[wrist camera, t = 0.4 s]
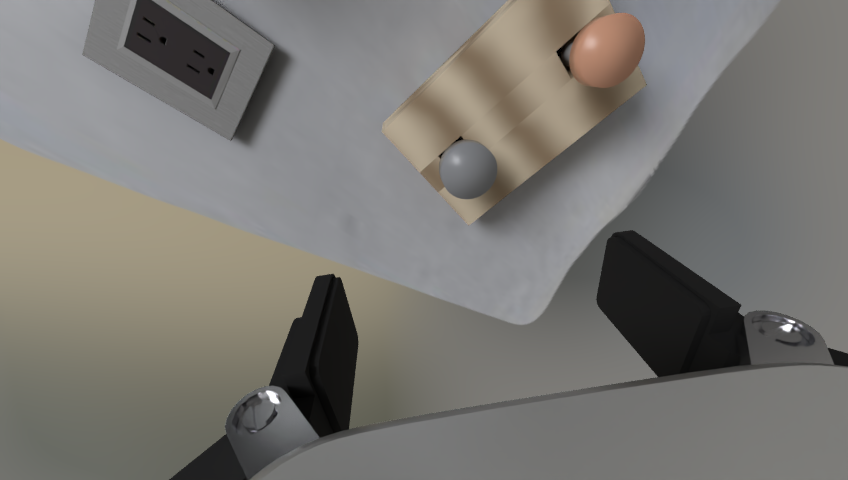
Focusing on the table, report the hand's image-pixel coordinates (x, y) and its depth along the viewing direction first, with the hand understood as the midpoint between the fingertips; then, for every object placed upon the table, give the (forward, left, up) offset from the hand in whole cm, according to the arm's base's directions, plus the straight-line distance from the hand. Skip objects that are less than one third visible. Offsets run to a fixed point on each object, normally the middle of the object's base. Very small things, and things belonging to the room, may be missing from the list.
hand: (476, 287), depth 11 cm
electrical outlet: (+11, -20, -29) cm, 37 cm away
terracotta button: (-16, +4, -25) cm, 30 cm away
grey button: (-2, +4, -25) cm, 25 cm away
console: (-9, +4, -29) cm, 30 cm away
